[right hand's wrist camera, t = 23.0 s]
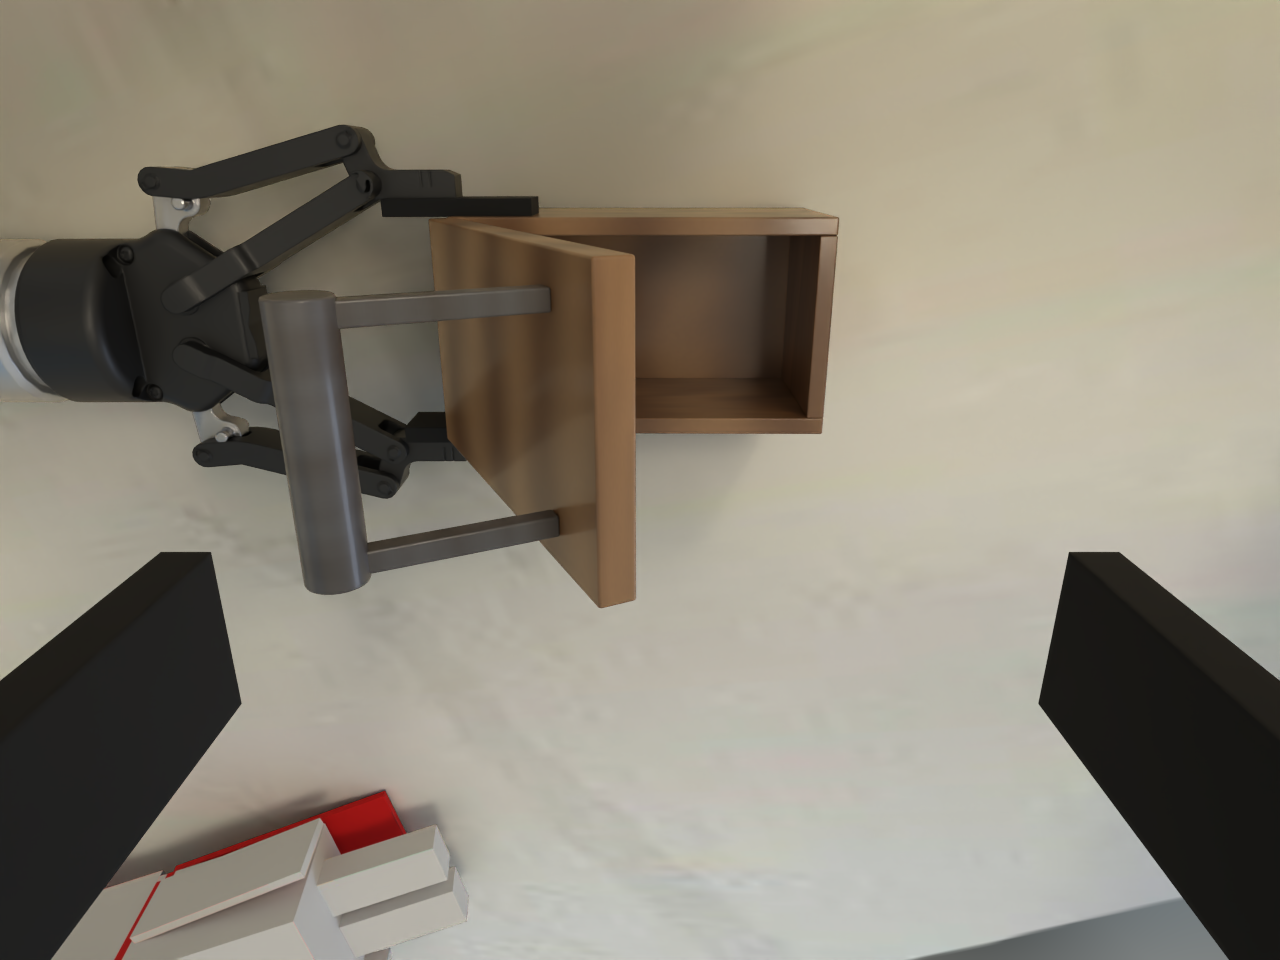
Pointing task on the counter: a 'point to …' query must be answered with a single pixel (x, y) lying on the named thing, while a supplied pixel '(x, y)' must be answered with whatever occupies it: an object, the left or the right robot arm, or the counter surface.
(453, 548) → the lid
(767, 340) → the chest
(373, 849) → the toy
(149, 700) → the right robot arm
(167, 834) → the counter surface
